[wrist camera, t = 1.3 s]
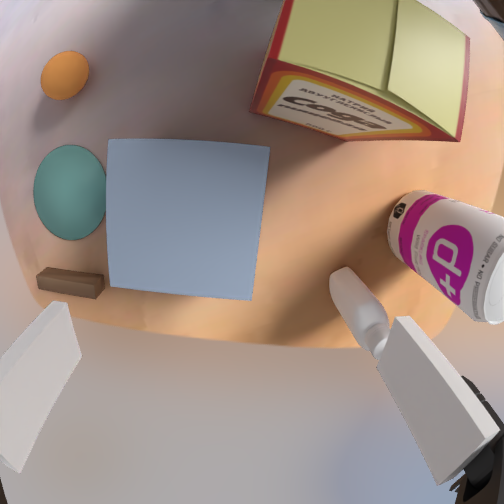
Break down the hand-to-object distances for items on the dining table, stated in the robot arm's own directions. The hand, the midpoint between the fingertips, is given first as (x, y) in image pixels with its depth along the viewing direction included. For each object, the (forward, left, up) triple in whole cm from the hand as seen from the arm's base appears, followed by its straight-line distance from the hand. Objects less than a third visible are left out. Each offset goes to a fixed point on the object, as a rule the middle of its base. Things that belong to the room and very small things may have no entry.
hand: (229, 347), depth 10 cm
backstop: (+7, -18, -18) cm, 26 cm away
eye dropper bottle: (+6, +12, -18) cm, 23 cm away
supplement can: (-2, +19, -18) cm, 27 cm away
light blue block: (-2, -4, -18) cm, 18 cm away
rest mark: (-2, -18, -18) cm, 25 cm away
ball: (-14, -18, -15) cm, 27 cm away
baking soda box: (-13, +5, -18) cm, 23 cm away
